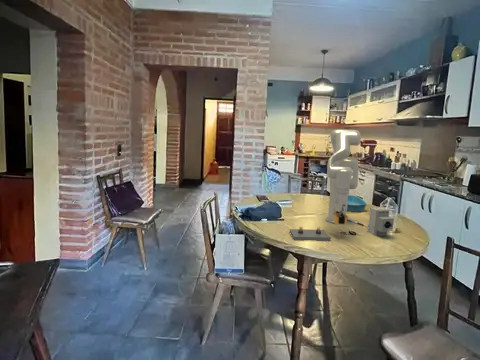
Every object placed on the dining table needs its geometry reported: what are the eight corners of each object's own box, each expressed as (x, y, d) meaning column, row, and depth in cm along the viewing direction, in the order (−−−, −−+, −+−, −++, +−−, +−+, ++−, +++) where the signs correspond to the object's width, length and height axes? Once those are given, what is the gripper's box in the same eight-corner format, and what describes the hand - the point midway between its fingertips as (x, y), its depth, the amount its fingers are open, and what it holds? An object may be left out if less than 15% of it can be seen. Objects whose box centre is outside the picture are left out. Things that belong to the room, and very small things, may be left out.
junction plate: (289, 232, 203) (290, 223, 202) (323, 233, 203) (324, 224, 202) (293, 240, 189) (294, 230, 188) (330, 241, 189) (331, 231, 189)
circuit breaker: (382, 239, 195) (385, 213, 193) (367, 231, 209) (369, 207, 207) (393, 238, 197) (396, 212, 195) (377, 231, 211) (380, 206, 209)
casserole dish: (369, 214, 253) (370, 204, 252) (338, 212, 254) (339, 203, 253) (355, 203, 289) (356, 194, 288) (328, 201, 290) (329, 193, 289)
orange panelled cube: (332, 220, 200) (333, 212, 199) (343, 221, 200) (343, 212, 199) (335, 224, 194) (336, 215, 193) (346, 224, 194) (347, 215, 193)
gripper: (331, 187, 202) (328, 217, 205) (340, 194, 185) (337, 226, 188) (344, 187, 202) (341, 217, 205) (354, 194, 185) (351, 226, 189)
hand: (339, 221), depth 197 cm, fingers closed on orange panelled cube, 6 cm apart
